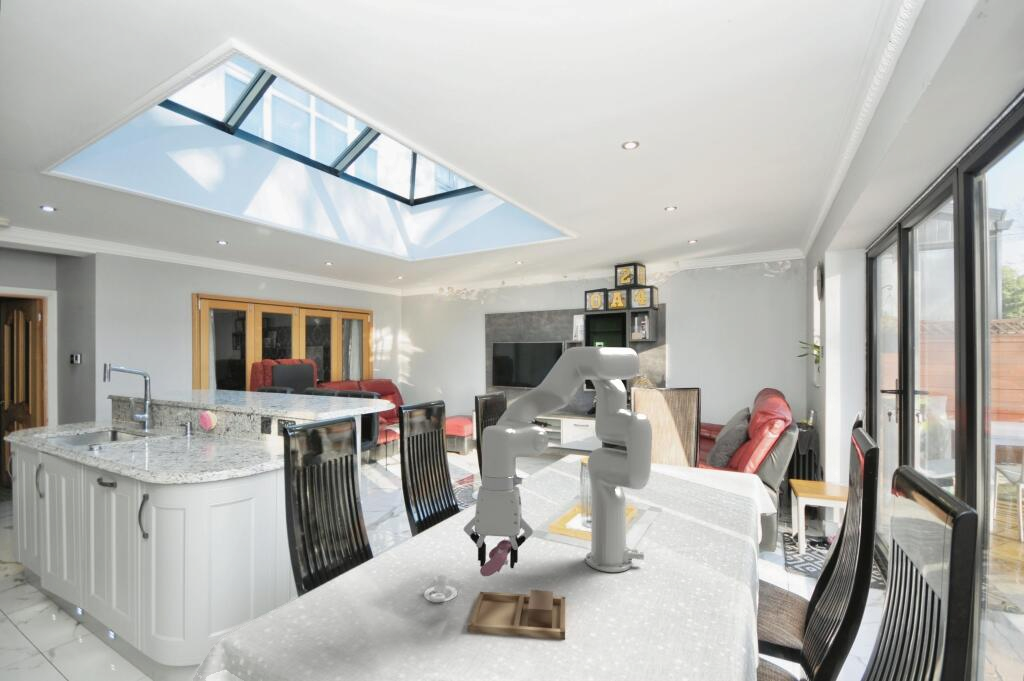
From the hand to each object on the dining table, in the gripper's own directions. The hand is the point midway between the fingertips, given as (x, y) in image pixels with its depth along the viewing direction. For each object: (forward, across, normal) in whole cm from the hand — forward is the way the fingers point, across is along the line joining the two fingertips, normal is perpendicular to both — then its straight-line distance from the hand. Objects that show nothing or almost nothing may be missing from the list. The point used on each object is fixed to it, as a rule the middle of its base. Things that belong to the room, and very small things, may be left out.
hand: (497, 564), depth 103 cm
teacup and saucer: (+12, +18, -7) cm, 23 cm away
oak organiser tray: (+11, -5, 0) cm, 12 cm away
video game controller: (+1, 0, 0) cm, 1 cm away
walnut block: (+11, -10, 0) cm, 15 cm away
